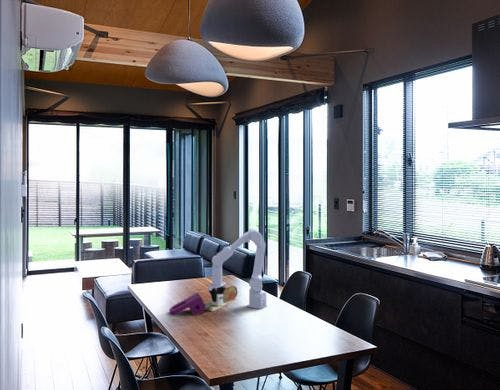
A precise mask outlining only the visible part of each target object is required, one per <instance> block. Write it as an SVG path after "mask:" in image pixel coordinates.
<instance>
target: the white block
mask: <svg viewBox="0 0 500 390" xmlns="http://www.w3.org/2000/svg"><path fill="white" fill-rule="evenodd" d="M210 301H211V305H216V306H219V305H222V304H223V294H217V300H216V302H213V301H212V297H211V296H210Z"/></svg>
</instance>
